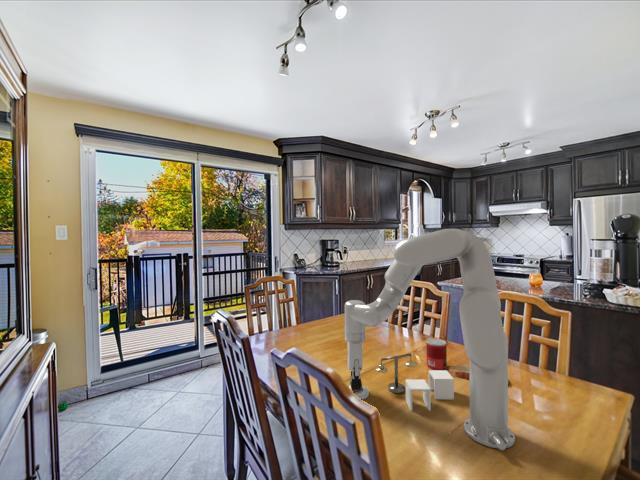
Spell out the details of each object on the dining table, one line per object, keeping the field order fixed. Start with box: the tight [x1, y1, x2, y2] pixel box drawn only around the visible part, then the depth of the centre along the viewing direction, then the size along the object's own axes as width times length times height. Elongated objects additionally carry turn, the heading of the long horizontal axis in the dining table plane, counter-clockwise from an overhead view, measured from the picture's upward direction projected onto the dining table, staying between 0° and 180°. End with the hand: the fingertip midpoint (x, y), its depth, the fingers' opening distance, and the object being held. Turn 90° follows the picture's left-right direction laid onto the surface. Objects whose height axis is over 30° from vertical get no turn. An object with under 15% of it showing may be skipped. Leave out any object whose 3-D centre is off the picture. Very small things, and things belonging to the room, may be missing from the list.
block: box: [348, 375, 363, 393], centre depth 108 cm, size 4×4×4 cm
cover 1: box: [404, 378, 432, 412], centre depth 100 cm, size 6×6×7 cm
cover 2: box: [428, 369, 455, 400], centre depth 106 cm, size 6×6×7 cm
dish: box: [348, 385, 370, 401], centre depth 108 cm, size 9×9×1 cm
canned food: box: [426, 337, 448, 370], centre depth 128 cm, size 8×8×11 cm
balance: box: [374, 353, 418, 395], centre depth 110 cm, size 6×15×13 cm, turn 87°
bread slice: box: [447, 364, 510, 385], centre depth 118 cm, size 18×18×4 cm
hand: (355, 385), depth 108 cm, fingers open, 4 cm apart
